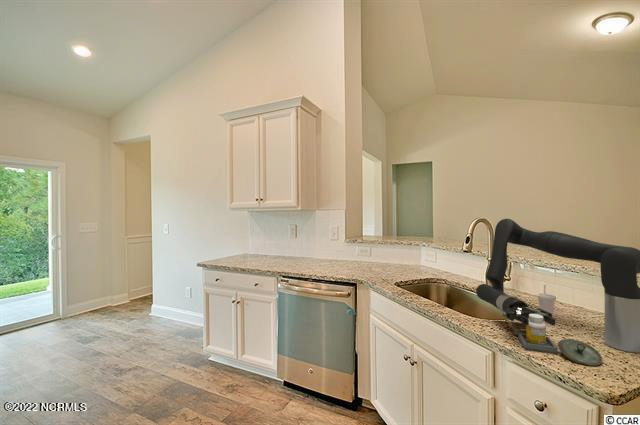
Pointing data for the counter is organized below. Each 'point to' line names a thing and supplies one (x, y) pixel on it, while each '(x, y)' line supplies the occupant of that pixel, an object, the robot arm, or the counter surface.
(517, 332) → the collar block
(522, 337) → the tray
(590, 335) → the counter surface
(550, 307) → the smoothie
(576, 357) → the lid
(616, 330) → the robot arm
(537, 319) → the supplement bottle
